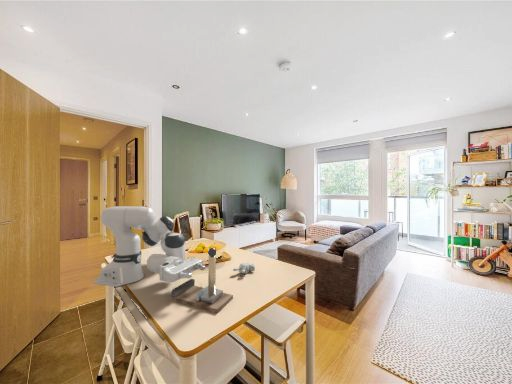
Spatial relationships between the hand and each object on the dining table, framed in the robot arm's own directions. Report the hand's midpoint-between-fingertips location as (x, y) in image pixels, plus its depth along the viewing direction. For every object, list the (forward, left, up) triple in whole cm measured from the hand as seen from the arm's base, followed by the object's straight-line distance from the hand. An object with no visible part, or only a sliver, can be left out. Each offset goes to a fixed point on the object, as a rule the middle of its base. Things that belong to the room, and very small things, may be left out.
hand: (197, 271), depth 91 cm
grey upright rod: (+7, -4, -9) cm, 12 cm away
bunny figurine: (+19, +28, -11) cm, 36 cm away
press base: (+3, -2, -11) cm, 12 cm away
